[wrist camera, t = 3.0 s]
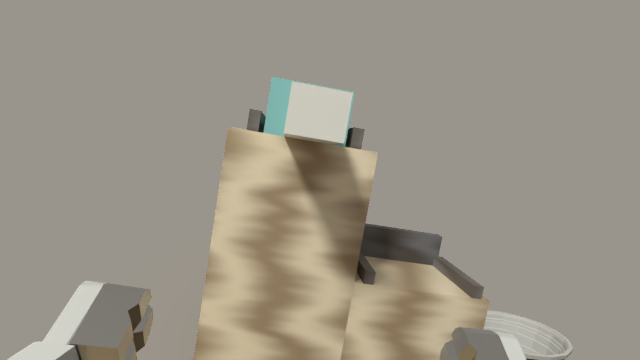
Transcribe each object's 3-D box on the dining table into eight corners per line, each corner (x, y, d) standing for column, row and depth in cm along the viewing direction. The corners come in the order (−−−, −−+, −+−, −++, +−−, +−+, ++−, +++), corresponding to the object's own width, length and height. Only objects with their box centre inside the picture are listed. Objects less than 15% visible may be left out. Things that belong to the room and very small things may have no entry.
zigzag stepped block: (410, 427, 40) (464, 153, 38) (445, 508, 31) (519, 157, 29) (200, 407, 38) (244, 115, 36) (174, 489, 29) (231, 105, 27)
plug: (331, 146, 36) (339, 103, 35) (373, 148, 19) (388, 67, 18) (268, 135, 35) (275, 91, 35) (252, 127, 18) (265, 43, 18)
